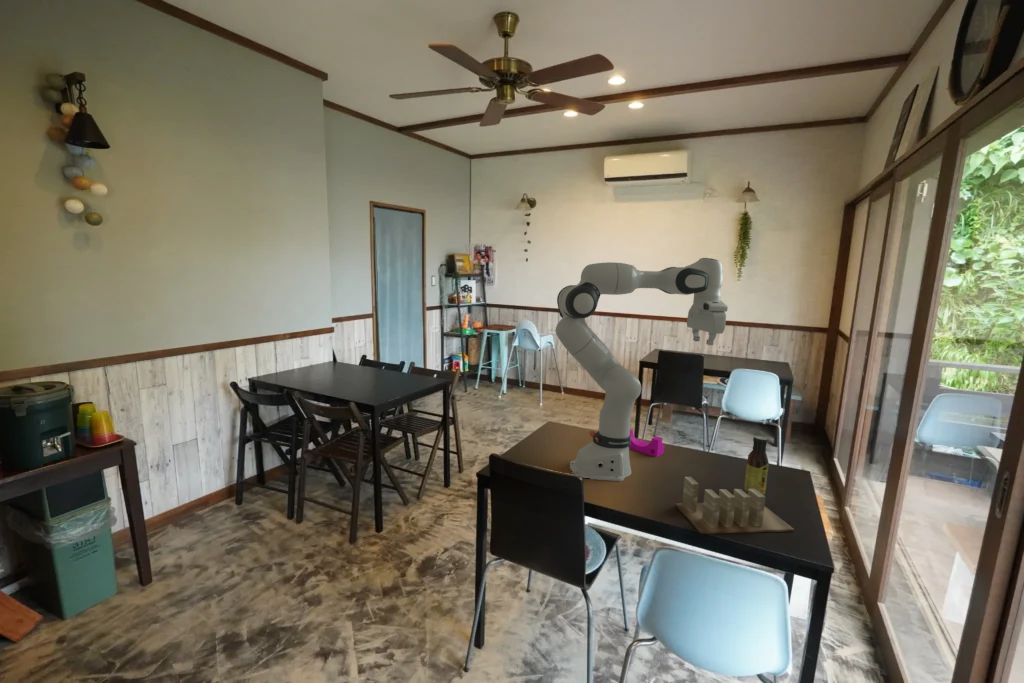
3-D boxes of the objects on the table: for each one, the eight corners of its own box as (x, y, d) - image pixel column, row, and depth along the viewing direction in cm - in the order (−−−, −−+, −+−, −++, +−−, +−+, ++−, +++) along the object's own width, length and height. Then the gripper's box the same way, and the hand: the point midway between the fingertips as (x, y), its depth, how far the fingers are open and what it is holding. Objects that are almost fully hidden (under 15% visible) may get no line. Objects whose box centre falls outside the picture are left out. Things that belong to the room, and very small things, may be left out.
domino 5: (755, 526, 131) (758, 496, 130) (745, 517, 136) (748, 488, 135) (762, 526, 131) (765, 496, 130) (751, 517, 136) (754, 488, 135)
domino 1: (689, 512, 138) (692, 484, 137) (682, 503, 143) (684, 476, 142) (696, 512, 138) (698, 484, 137) (688, 503, 143) (690, 476, 142)
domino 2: (710, 527, 130) (713, 497, 128) (701, 518, 135) (704, 489, 133) (717, 527, 130) (720, 497, 129) (708, 518, 135) (711, 489, 134)
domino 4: (740, 526, 131) (744, 497, 129) (730, 517, 136) (733, 489, 134) (747, 526, 131) (750, 497, 130) (737, 517, 136) (740, 488, 134)
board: (700, 533, 127) (701, 531, 127) (675, 505, 143) (675, 503, 143) (794, 531, 130) (794, 529, 130) (758, 503, 146) (759, 501, 146)
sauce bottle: (764, 501, 147) (771, 442, 144) (742, 496, 151) (749, 438, 148) (765, 493, 153) (772, 437, 150) (744, 488, 156) (750, 433, 153)
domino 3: (725, 527, 130) (729, 497, 129) (716, 517, 135) (719, 489, 134) (732, 526, 130) (735, 497, 129) (722, 517, 135) (725, 489, 134)
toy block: (663, 454, 185) (665, 436, 184) (656, 458, 181) (658, 440, 180) (630, 444, 195) (631, 427, 194) (622, 448, 191) (624, 430, 190)
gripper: (684, 302, 172) (681, 338, 174) (713, 306, 152) (709, 347, 154) (700, 303, 173) (696, 339, 175) (730, 306, 153) (726, 347, 155)
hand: (702, 343), depth 164 cm, fingers open, 8 cm apart
